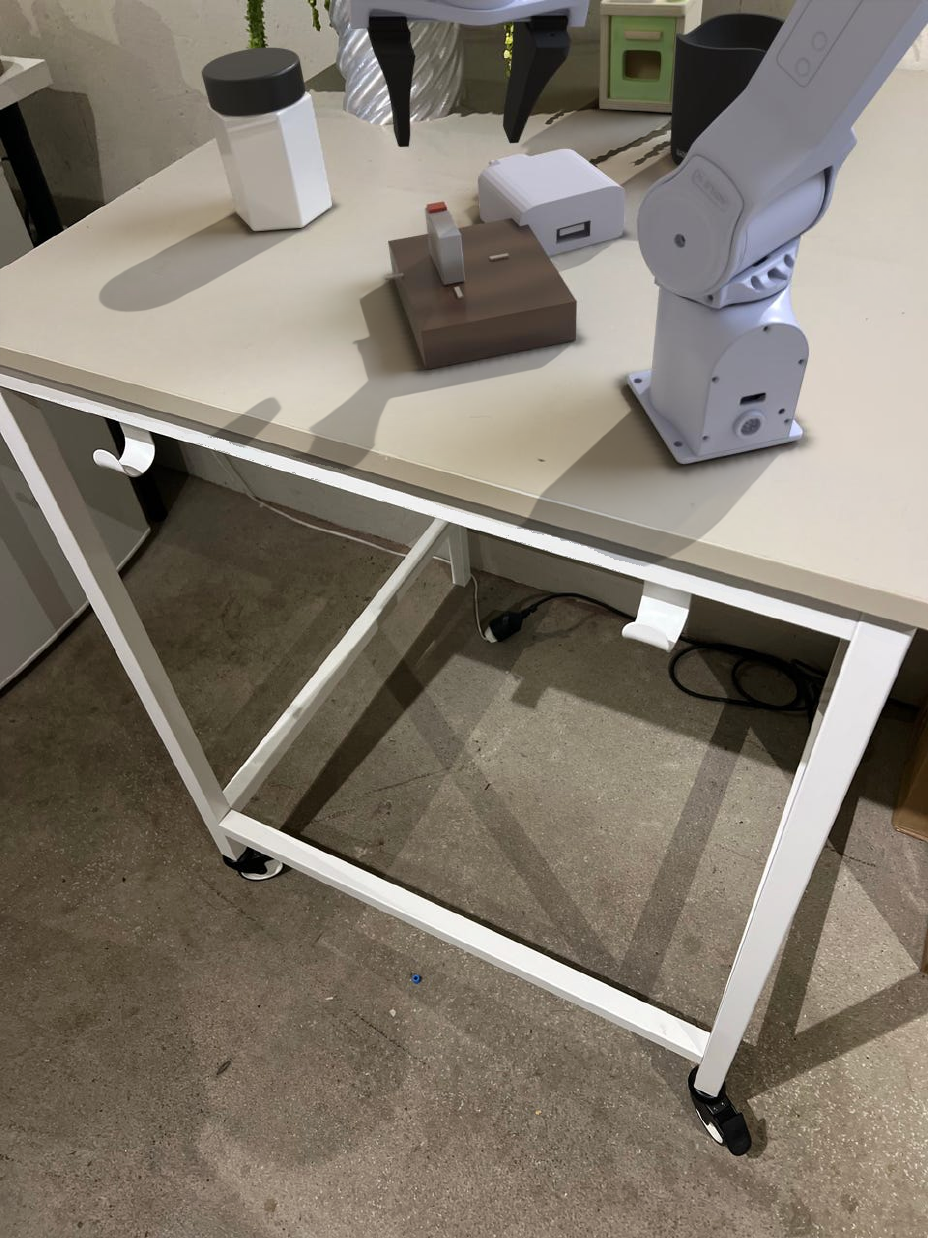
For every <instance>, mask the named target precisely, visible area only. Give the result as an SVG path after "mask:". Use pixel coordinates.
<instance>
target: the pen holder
mask: <svg viewBox="0 0 928 1238" xmlns="http://www.w3.org/2000/svg"><path fill="white" fill-rule="evenodd" d="M785 21H786V19H782V18H779V17H777V16H773V15H768V14H762V13H752V12H751V13H750V12H730V13H722V14H717V15H715V16H713V17H710V18H708V19H706V20H705V21H703V22H702V23H700V25H699V26H698V27H697V28H695V29H694V30H692V31H691V32H689V33H688V34H685V35H683V34H681V33H677V34H676V48H675V65H674V83H673V101H672V113H671V121H670V122H671V123H670V143H669V144H670V145H669V147H670V149H669V151H670V156H671V159H672V160H673V162H674V163H675V164H676V165H677V166H679V165H680V164H681V163H682V161H683V160H684V158H685V157H686V155H687V153H688V151H689V150H690V148H691V146H692V144H693V143H694V141H695V140H696V139H697V138H698V137H699V136H700V135H701V134H702V133H703V132H704V131H705V130H706V129H707V128H708V127H709V126H710V125H711V123H712V122H713V121H714V120H715V119H716V118H717V117H718V116H719V115H720V114H721V113H722V112H723V111H724V110H725V109H726V108H727V107H728V106H729V105H730V104H731V103H732V102H733V101H734V100H735V99H736V98H737V97H738V96H739V95H740V94H741V93H742V92H743V91H744V90H745V89H746V87H747V86H748V84H749V83H750V81H751V79H752V77H753V76H754V74H755V72H756V70H757V69H758V67H759V65H760V64H761V62H762V60H763V58H764V57H765V55H766V53H767V52H768V50H769V48H770V46H771V45H772V43H773V41H774V39H775V38H776V36H777V34H778V33H779V31H780V29H781V27H782V26H783V24H784V22H785Z"/></svg>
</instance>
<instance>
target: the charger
mask: <svg viewBox="0 0 928 1238" xmlns="http://www.w3.org/2000/svg"><path fill="white" fill-rule="evenodd" d="M488 164H489V165H488V166H486V167H485V168H484V169H483V170H482V171H481V172H480V174H479V175H478V178H477V188H478V189H477V190H478V205H479V207H478V208H479V217H480V220H481V221H482V222H483V223H488V222H494V221H499V220H504V219H510V218H512V219H513V220H514V221H515V222H516V223H517V224H518V225H519V226H523V225H527V224H528V225H529V226H530V228H531V229H532V231H533V233H534V234H535V236H536V237H537V239H538V240H539V242H540V244H541V245H542V247H543V248H544V250H545V252H546V253H547V255H548V256H549V257H552V256H555V255H559V254H562V253H566V252H570V251H574V250H577V249H581V248H584V247H588V246H591V245H595V244H598V243H603V242H607V241H609V240H613V239H616V238H617V239H618V238H619V237H621V236H622V235H623V233H624V228H625V212H626V211H625V210H626V196H627V195H626V193H627V192H626V190H625V188H624V187H622V186H621V185H619V184H618V183H617V182H615V180H613V179H611V178H610V177H609V176H608V175H606V174H605V173H604V172H603V171H601V170H600V169H598V167H596V166H594V165H593V164H592V163H591V162H590V161H588V160H587V159H586V158H584V157H583V156H581V154H579V153H578V152H577V151H575V149H571V148H559V149H556V150H555V149H554V150H550V151H547V152H543V153H539V154H535V155H531V156H530V155H527V154H524V153H517V154H513V155H507V156H505V157H501V158H497V159H495V160H494V159H490V160H489V161H488Z"/></svg>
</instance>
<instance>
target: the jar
mask: <svg viewBox="0 0 928 1238" xmlns="http://www.w3.org/2000/svg"><path fill="white" fill-rule="evenodd" d="M201 79H202V81H203V85H204V88H205V91H206V96H207V99H208V103H206V108H207V111H208V115H209V118H210V121H211V126H212V129H213V132H214V136H215V140H216V143H217V147H218V151H219V155H220V158H221V161H222V165H223V169H224V172H225V176H226V180H227V184H228V186H229V187H228V188H229V190H230V194H231V199H232V201H233V204H234V209H235V212H236V214H237V215H238V216H239V217H240V218H241V219H242V220H243V221H244V223H246V225H247V226H249V227H250V229H251V230H252V231H254V232H260V231H261V232H263V231H264V232H265V231H276V230H288V229H301V228H304V227H305V226H307V225H308V224H310V223H311V222H313V220H315V219H316V218H318V217H319V216H321V215H322V214H324V213H325V212H326V211H328V210H329V209H331V208H332V206H333V202H332V196H331V192H330V191H331V190H330V186H329V180H328V176H327V169H326V166H325V160H324V155H323V150H322V145H321V139H320V135H319V134H320V133H319V129H318V123H317V118H316V113H315V108H314V104H313V98H312V95H311V94H310V93H309V92H308V91H306V90H307V89H306V85H305V80H304V75H303V69H302V65H301V59H300V56H299V55H298V54H297V53H296V52H295V51H293V50H290V49H287V48H281V47H257V48H255V47H254V48H248V49H242V50H238V51H234V52H230V53H227V54H224V55H222V56H219V57H215V59H212V60H211V61H209V62H208V63H206V64H205V65H204V67H202V69H201Z"/></svg>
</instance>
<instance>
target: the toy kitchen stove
mask: <svg viewBox="0 0 928 1238" xmlns="http://www.w3.org/2000/svg"><path fill="white" fill-rule="evenodd" d="M599 3H600V4H599V5H600V6H599V15H600V23H599V25H600V26H599V27H600V29H599V31H600V32H599V37H600V38H599V88H598V89H599V90H598V91H599V93H598V94H599V95H598V96H599V98H598V106H599V109H601V110H613V111H616V110H617V111H635V112H652V113H671V114H672V101H673V83H674V65H675V48H676V34H677V33H681V34H683V35H685V34H688V33H689V32H691V31H692V30H694V29H695V28H697V27H698V26H699V25H701V24H702V23H701V21H702V13H703V12H702V9H703V0H601V1H600V2H599Z"/></svg>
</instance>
